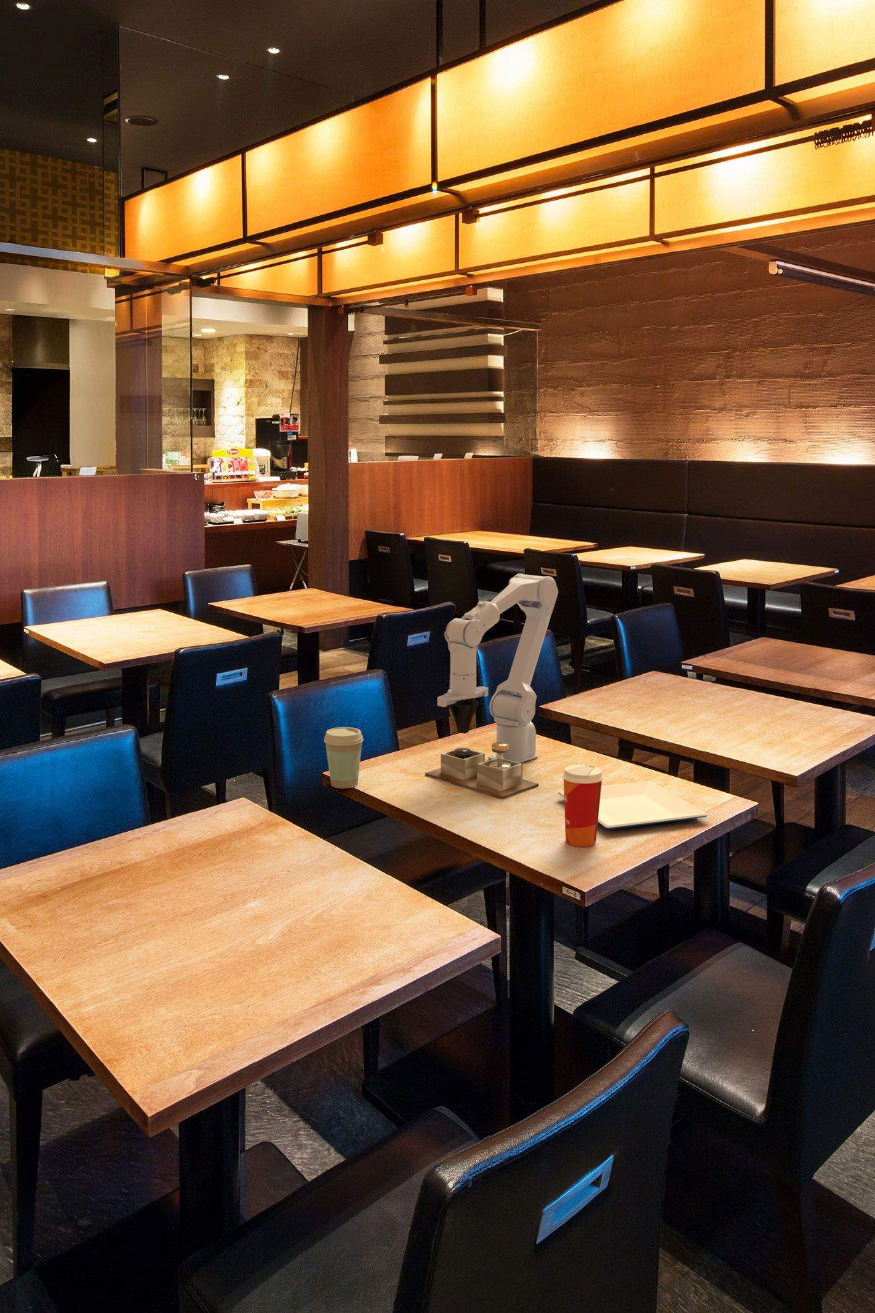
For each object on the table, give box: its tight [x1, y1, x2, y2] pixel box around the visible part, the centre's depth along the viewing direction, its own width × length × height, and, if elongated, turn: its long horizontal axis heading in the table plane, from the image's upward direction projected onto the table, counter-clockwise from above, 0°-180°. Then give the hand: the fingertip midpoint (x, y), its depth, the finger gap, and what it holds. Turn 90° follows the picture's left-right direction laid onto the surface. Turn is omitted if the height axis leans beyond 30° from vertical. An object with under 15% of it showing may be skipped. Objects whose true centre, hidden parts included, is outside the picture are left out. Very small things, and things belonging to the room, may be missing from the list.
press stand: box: [424, 749, 539, 800], centre depth 224 cm, size 12×23×5 cm, turn 46°
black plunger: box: [454, 747, 472, 759], centre depth 228 cm, size 5×5×5 cm
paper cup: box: [561, 764, 605, 848], centre depth 188 cm, size 8×8×14 cm
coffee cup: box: [323, 726, 364, 790], centre depth 221 cm, size 8×9×12 cm
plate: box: [557, 780, 709, 830], centre depth 206 cm, size 22×22×2 cm
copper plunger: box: [489, 741, 511, 770], centre depth 220 cm, size 5×5×5 cm
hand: (463, 732), depth 227 cm, fingers closed
